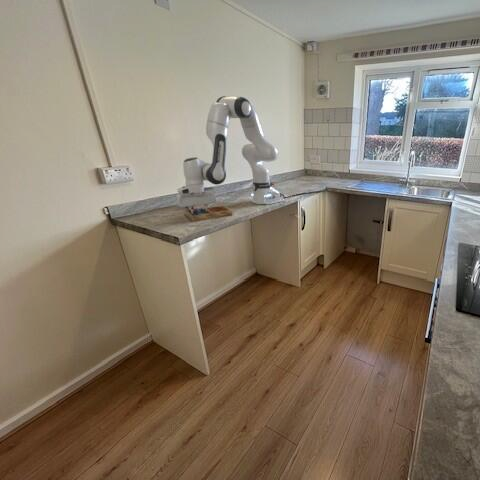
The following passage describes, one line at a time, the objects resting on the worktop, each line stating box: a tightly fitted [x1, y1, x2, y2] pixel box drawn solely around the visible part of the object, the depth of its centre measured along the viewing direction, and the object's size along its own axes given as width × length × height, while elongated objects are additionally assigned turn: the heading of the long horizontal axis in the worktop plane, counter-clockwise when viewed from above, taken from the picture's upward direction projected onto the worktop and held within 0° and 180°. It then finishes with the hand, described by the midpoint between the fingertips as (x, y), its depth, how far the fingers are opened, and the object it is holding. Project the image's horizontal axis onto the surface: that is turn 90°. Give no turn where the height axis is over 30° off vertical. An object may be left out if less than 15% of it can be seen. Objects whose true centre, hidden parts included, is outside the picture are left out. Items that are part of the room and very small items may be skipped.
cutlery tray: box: [184, 205, 233, 222], centre depth 151 cm, size 22×14×3 cm, turn 129°
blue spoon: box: [194, 207, 203, 215], centre depth 148 cm, size 10×4×3 cm, turn 38°
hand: (199, 212), depth 148 cm, fingers open, 5 cm apart
